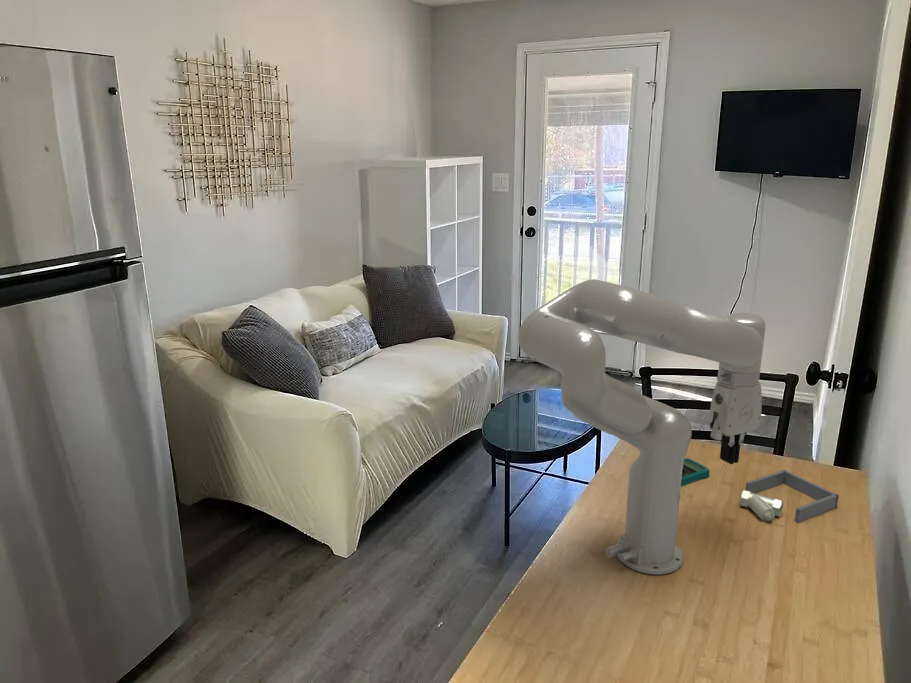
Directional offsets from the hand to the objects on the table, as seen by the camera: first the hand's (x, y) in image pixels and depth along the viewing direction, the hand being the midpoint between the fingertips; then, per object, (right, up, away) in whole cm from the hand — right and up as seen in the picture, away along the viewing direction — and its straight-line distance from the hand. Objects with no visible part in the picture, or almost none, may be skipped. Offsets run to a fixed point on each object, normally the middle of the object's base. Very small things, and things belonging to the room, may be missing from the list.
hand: (728, 460), depth 135 cm
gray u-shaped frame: (+19, -12, +13) cm, 26 cm away
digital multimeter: (-2, -9, +25) cm, 26 cm away
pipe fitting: (+10, -13, +9) cm, 19 cm away
